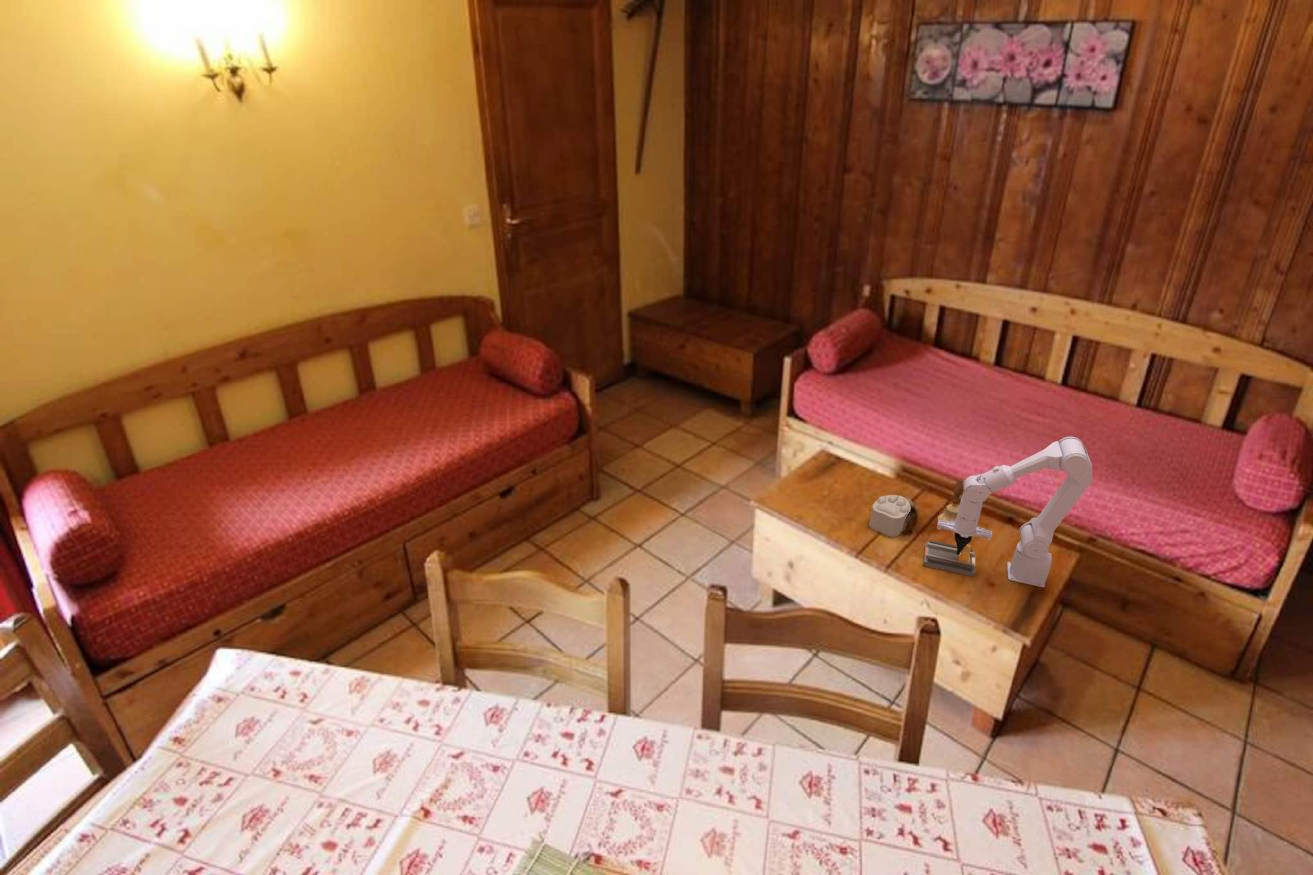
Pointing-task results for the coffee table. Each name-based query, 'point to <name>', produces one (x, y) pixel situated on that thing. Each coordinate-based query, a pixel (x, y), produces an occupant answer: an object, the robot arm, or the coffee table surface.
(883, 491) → the coffee table surface
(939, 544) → the breaker panel
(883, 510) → the lumpy-topped squat cylinder
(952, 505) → the hand bell
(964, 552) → the breaker lever
